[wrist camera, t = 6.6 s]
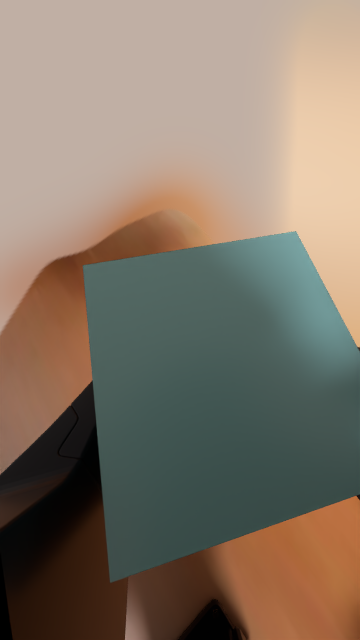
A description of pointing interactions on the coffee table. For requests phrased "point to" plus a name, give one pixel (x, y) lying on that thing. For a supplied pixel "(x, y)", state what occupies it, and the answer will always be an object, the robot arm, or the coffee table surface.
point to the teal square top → (217, 396)
